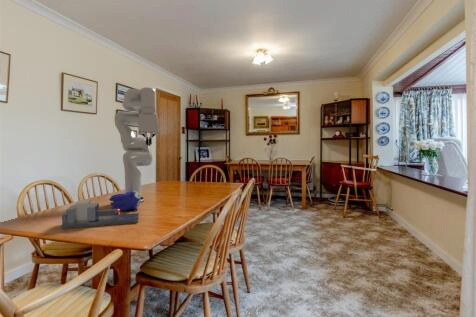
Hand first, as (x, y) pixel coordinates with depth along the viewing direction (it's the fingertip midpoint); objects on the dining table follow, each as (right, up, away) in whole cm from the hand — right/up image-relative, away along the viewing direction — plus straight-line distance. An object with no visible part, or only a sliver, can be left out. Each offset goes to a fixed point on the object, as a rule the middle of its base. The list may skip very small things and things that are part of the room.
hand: (148, 145), depth 143 cm
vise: (-13, -36, -22) cm, 44 cm away
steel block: (-21, -34, -24) cm, 47 cm away
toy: (-13, -35, +4) cm, 38 cm away
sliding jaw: (-13, -34, -21) cm, 42 cm away
